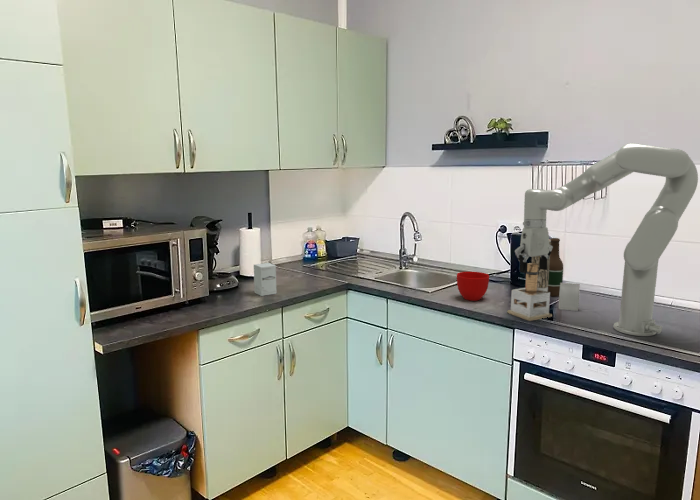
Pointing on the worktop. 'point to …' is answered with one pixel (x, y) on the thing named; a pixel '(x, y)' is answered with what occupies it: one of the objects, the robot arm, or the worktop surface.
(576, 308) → the light gray block
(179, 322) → the worktop surface
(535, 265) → the wooden post
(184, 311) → the worktop surface
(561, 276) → the beer bottle
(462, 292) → the ceramic cup
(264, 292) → the supplement box
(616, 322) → the robot arm
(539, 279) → the wooden log
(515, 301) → the collar stand
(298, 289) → the worktop surface
